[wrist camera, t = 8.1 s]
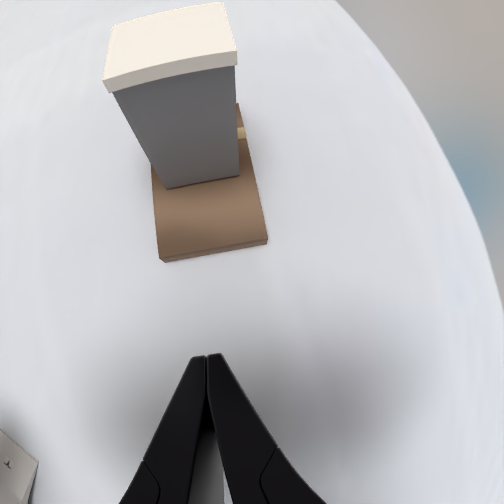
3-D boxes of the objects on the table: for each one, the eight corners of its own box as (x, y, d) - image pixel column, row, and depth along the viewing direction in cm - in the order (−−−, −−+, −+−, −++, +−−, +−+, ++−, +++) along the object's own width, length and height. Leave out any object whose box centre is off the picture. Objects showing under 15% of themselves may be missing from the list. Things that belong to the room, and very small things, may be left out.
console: (266, 243, 21) (271, 222, 17) (164, 262, 21) (144, 246, 16) (238, 114, 23) (237, 77, 19) (154, 130, 23) (138, 96, 19)
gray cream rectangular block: (241, 176, 20) (236, 50, 10) (164, 190, 20) (102, 80, 9) (231, 126, 21) (222, 1, 11) (160, 140, 21) (112, 25, 10)
